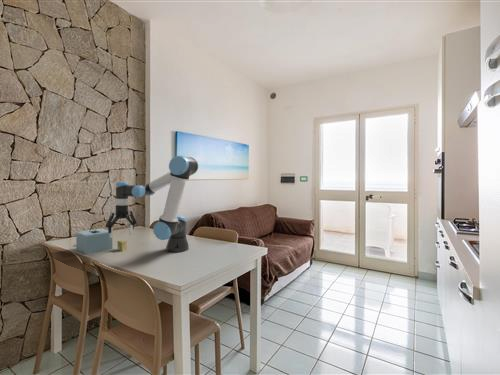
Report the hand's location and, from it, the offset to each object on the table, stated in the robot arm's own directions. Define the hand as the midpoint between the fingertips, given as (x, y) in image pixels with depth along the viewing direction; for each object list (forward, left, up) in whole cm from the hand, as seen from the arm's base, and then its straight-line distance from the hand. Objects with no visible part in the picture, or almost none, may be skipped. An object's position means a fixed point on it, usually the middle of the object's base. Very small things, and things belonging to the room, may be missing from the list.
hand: (121, 235), depth 176 cm
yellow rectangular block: (0, 0, -10) cm, 10 cm away
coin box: (+15, +11, -10) cm, 21 cm away
